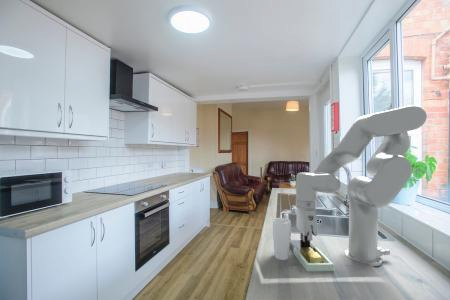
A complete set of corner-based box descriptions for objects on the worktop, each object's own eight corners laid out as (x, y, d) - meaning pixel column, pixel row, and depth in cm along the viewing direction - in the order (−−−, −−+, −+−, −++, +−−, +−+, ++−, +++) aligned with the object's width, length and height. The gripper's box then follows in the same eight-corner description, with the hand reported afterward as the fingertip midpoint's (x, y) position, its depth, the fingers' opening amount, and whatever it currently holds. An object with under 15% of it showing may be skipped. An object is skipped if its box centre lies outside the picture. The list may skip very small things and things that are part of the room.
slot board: (304, 242, 102) (304, 235, 101) (315, 255, 90) (315, 247, 89) (285, 243, 101) (285, 235, 101) (294, 256, 89) (294, 248, 89)
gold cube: (310, 257, 87) (310, 247, 87) (314, 262, 83) (315, 252, 83) (300, 257, 87) (300, 247, 87) (304, 262, 83) (304, 252, 83)
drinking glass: (291, 264, 82) (291, 224, 82) (272, 262, 84) (272, 222, 84) (289, 256, 89) (290, 218, 89) (272, 254, 90) (272, 217, 90)
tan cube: (316, 262, 83) (316, 252, 83) (321, 268, 79) (321, 257, 79) (305, 262, 83) (305, 252, 83) (310, 268, 79) (310, 257, 79)
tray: (316, 255, 90) (317, 247, 89) (334, 274, 77) (334, 264, 77) (293, 256, 89) (293, 247, 89) (306, 274, 76) (306, 264, 76)
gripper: (324, 209, 81) (323, 259, 82) (307, 199, 96) (307, 242, 97) (303, 209, 81) (302, 260, 82) (290, 199, 96) (289, 242, 97)
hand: (305, 250), depth 89 cm, fingers closed
